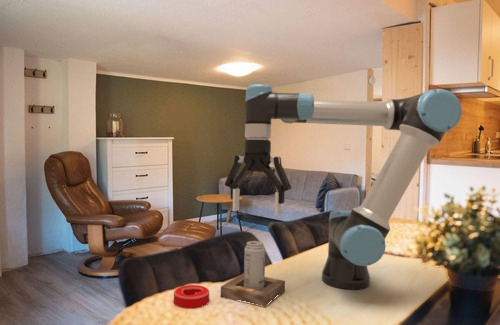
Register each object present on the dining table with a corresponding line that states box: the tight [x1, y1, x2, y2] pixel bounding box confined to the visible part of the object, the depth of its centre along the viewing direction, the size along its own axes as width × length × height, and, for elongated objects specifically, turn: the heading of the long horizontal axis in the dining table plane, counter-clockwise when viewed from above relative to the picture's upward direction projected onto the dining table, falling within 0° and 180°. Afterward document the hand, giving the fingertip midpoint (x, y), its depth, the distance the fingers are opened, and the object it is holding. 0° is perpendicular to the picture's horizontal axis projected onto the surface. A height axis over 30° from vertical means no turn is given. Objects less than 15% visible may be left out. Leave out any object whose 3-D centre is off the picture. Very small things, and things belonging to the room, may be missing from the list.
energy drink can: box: [243, 240, 266, 291], centre depth 111 cm, size 6×6×15 cm
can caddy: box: [220, 272, 286, 307], centre depth 111 cm, size 14×14×3 cm
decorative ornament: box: [173, 284, 210, 310], centre depth 105 cm, size 10×10×3 cm
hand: (256, 212), depth 110 cm, fingers open, 13 cm apart
